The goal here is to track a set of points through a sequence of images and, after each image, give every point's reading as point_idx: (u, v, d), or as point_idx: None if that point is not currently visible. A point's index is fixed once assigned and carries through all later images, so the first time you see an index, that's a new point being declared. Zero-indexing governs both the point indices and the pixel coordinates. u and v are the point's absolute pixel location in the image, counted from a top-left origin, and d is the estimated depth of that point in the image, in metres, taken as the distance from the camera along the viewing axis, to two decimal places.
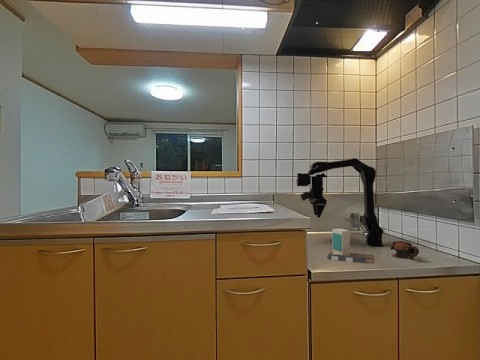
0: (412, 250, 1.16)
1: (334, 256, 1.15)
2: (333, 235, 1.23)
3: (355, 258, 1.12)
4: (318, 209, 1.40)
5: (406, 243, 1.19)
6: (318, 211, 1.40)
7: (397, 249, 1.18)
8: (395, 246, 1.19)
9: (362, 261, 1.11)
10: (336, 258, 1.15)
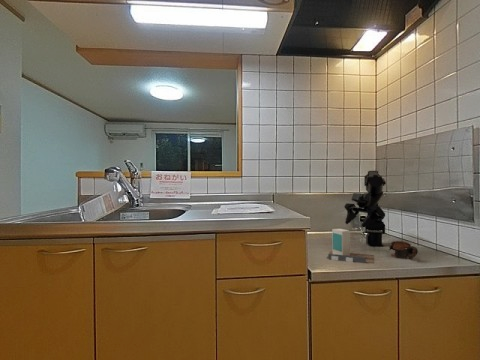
0: (411, 250, 1.16)
1: (334, 256, 1.15)
2: (333, 235, 1.23)
3: (355, 258, 1.12)
4: (369, 218, 1.20)
5: (405, 243, 1.18)
6: (367, 220, 1.20)
7: (396, 249, 1.18)
8: (394, 246, 1.19)
9: (362, 261, 1.11)
10: (336, 258, 1.15)
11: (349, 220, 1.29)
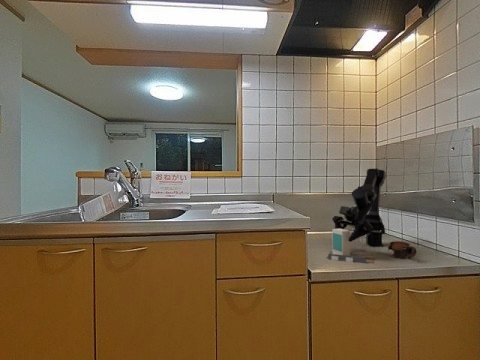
0: (410, 250, 1.16)
1: (334, 256, 1.15)
2: (333, 235, 1.23)
3: (355, 258, 1.12)
4: (356, 233, 1.17)
5: (404, 243, 1.18)
6: (355, 234, 1.17)
7: (395, 249, 1.18)
8: (393, 246, 1.19)
9: (362, 261, 1.11)
10: (336, 258, 1.15)
11: None
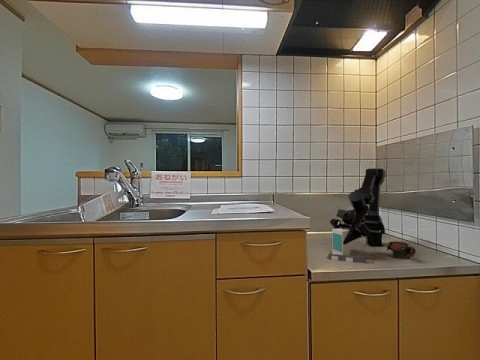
0: (409, 250, 1.16)
1: (334, 256, 1.15)
2: (333, 235, 1.23)
3: (355, 258, 1.12)
4: (351, 235, 1.18)
5: (402, 243, 1.18)
6: (349, 237, 1.18)
7: (394, 249, 1.17)
8: (392, 246, 1.19)
9: (362, 261, 1.11)
10: (336, 258, 1.15)
11: None
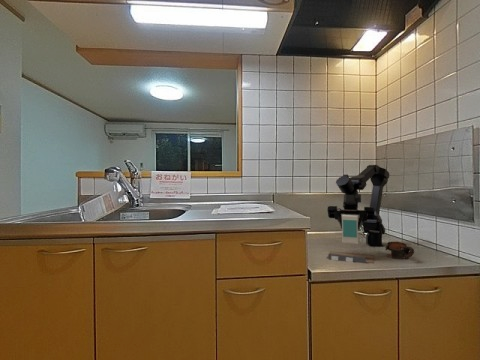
0: (407, 250, 1.16)
1: (334, 256, 1.15)
2: (344, 222, 1.17)
3: (355, 258, 1.12)
4: None
5: (401, 243, 1.18)
6: (361, 222, 1.17)
7: (392, 249, 1.17)
8: (390, 246, 1.19)
9: (362, 261, 1.11)
10: (336, 258, 1.15)
11: None
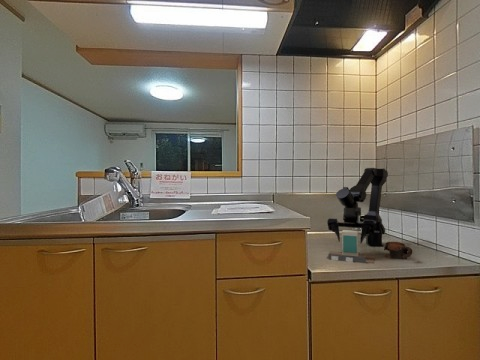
0: (405, 250, 1.16)
1: (334, 256, 1.15)
2: (344, 238, 1.17)
3: (355, 258, 1.12)
4: None
5: (399, 243, 1.18)
6: (364, 235, 1.17)
7: (391, 250, 1.17)
8: (389, 247, 1.18)
9: (362, 261, 1.11)
10: (336, 258, 1.15)
11: (339, 237, 1.20)
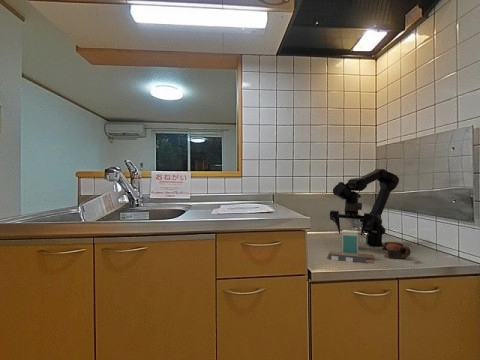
0: (404, 250, 1.15)
1: (334, 256, 1.15)
2: (344, 238, 1.17)
3: (355, 258, 1.12)
4: None
5: (398, 243, 1.18)
6: (364, 228, 1.27)
7: (389, 250, 1.17)
8: (387, 247, 1.18)
9: (362, 261, 1.11)
10: (336, 258, 1.15)
11: None
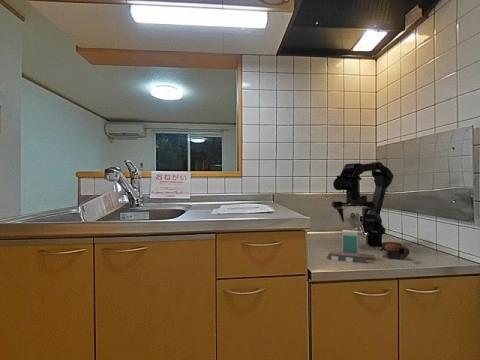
0: (402, 251, 1.15)
1: (334, 256, 1.15)
2: (344, 238, 1.17)
3: (355, 258, 1.12)
4: None
5: (396, 244, 1.18)
6: None
7: (388, 250, 1.17)
8: (386, 247, 1.18)
9: (362, 261, 1.11)
10: (336, 258, 1.15)
11: None
